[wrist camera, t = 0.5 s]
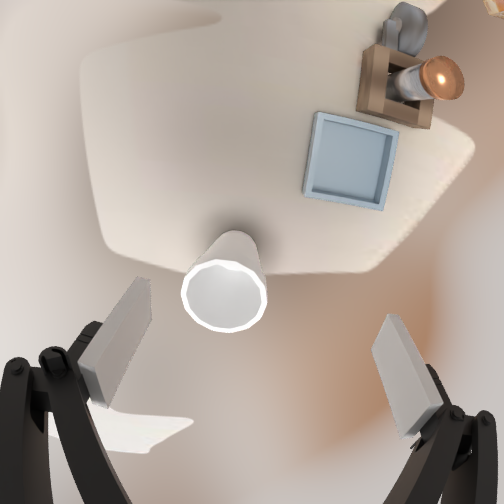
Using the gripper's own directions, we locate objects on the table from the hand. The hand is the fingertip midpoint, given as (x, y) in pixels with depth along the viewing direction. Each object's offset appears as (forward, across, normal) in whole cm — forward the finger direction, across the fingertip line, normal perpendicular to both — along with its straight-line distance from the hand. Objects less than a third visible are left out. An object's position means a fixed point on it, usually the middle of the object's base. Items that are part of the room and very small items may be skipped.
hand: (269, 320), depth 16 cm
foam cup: (+27, -4, -9) cm, 29 cm away
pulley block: (+27, +14, +23) cm, 38 cm away
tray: (+27, +10, +7) cm, 30 cm away
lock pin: (+27, +14, +18) cm, 36 cm away
